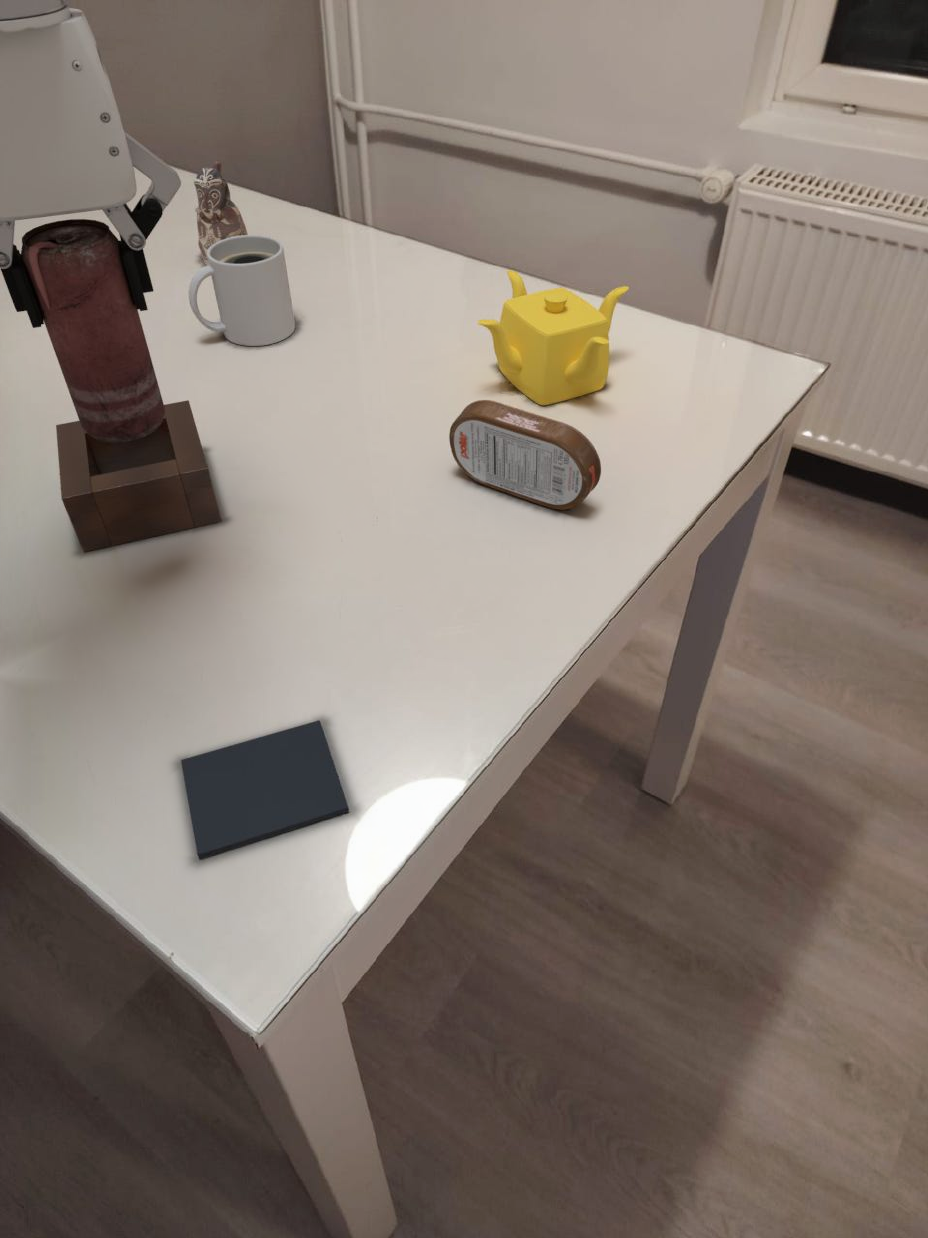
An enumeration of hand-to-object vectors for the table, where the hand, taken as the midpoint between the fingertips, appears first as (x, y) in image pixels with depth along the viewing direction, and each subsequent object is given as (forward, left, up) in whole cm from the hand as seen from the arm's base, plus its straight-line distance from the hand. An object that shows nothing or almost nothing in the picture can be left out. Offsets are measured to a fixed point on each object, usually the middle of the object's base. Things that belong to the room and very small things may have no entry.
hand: (89, 308), depth 59 cm
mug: (+15, +43, -24) cm, 51 cm away
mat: (+3, -25, -24) cm, 35 cm away
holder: (-1, +12, -24) cm, 27 cm away
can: (0, 0, -9) cm, 9 cm away
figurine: (+16, +67, -24) cm, 73 cm away
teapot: (+45, +19, -24) cm, 54 cm away
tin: (+33, 0, -24) cm, 41 cm away
